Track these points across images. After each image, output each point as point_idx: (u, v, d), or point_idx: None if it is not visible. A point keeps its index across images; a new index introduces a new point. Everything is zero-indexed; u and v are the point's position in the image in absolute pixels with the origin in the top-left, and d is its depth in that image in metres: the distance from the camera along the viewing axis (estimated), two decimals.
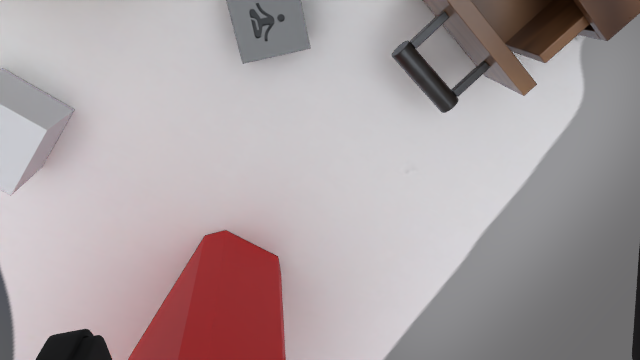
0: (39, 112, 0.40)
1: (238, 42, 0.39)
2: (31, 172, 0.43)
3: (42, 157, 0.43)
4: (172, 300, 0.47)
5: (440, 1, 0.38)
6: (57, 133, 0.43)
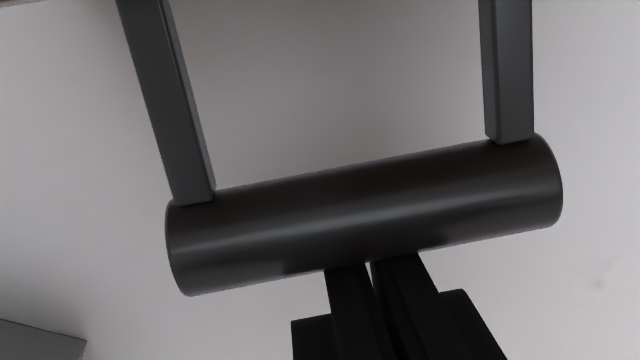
0: None
1: None
2: None
3: None
4: None
5: (3, 4, 0.06)
6: None
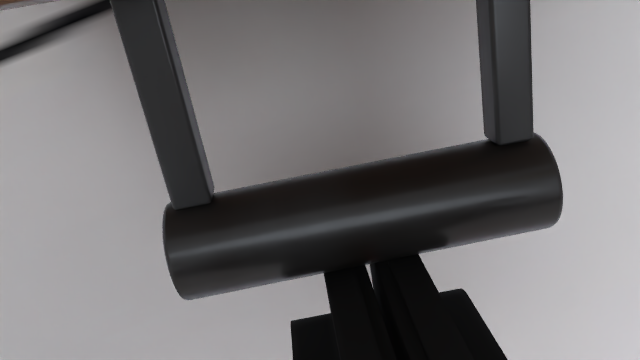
0: None
1: None
2: None
3: None
4: None
5: None
6: None
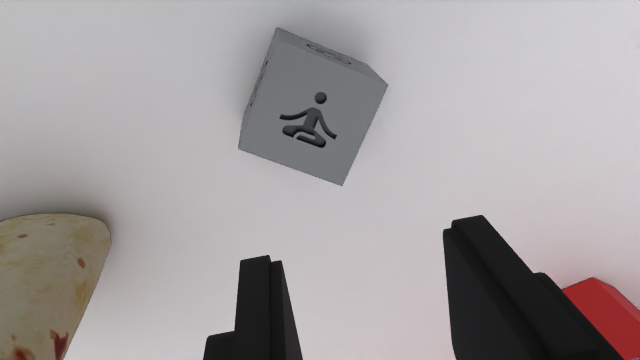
0: None
1: (312, 173, 0.25)
2: None
3: None
4: None
5: None
6: None
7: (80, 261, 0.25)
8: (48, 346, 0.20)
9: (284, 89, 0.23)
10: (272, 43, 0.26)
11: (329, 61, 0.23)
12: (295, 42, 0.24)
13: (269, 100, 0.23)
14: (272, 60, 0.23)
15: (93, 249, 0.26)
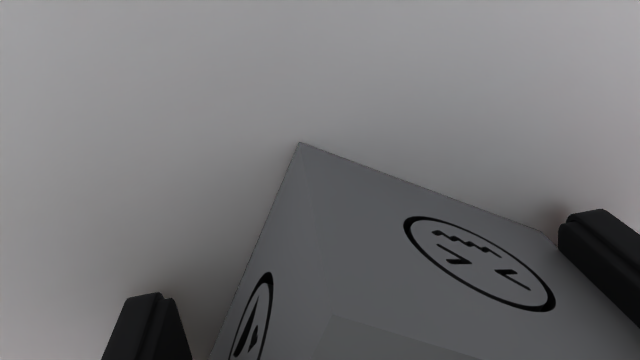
0: None
1: None
2: None
3: None
4: None
5: None
6: None
7: None
8: None
9: None
10: (288, 206, 0.08)
11: None
12: (378, 250, 0.06)
13: None
14: None
15: None
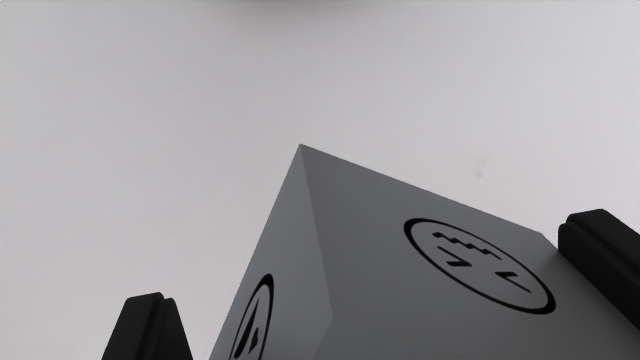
0: None
1: None
2: None
3: None
4: None
5: None
6: None
7: None
8: None
9: None
10: (288, 207, 0.08)
11: None
12: (379, 253, 0.06)
13: None
14: None
15: None
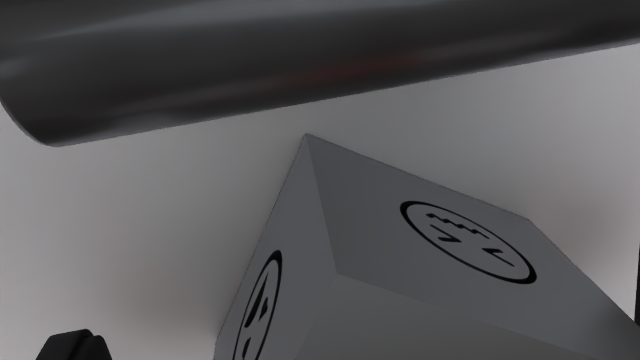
0: None
1: None
2: None
3: None
4: None
5: None
6: None
7: None
8: None
9: None
10: (295, 191, 0.09)
11: (520, 335, 0.06)
12: (377, 227, 0.07)
13: None
14: (306, 339, 0.06)
15: None
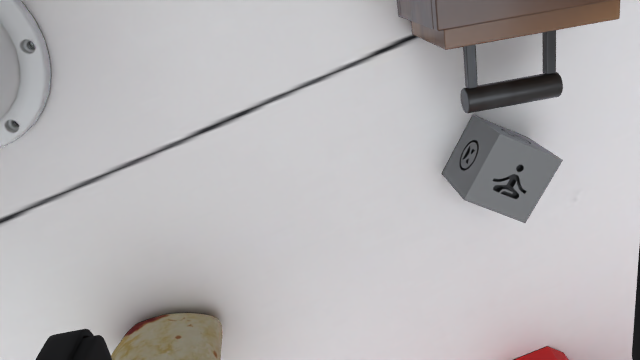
0: None
1: (507, 215, 0.38)
2: None
3: None
4: None
5: None
6: None
7: (214, 353, 0.39)
8: None
9: (498, 163, 0.36)
10: (475, 127, 0.39)
11: (528, 146, 0.36)
12: (500, 131, 0.37)
13: (488, 169, 0.36)
14: (493, 145, 0.36)
15: (217, 341, 0.41)
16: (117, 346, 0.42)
